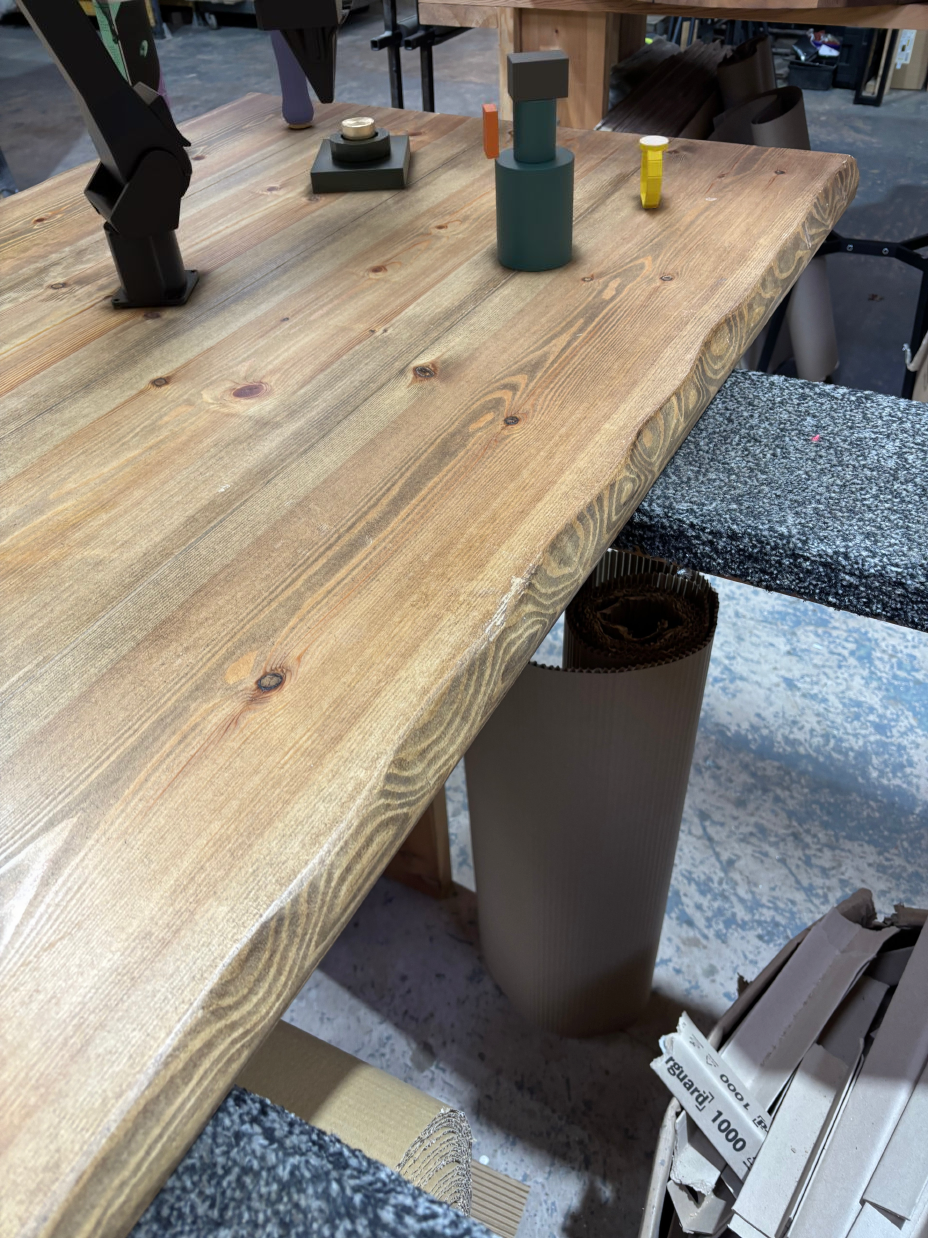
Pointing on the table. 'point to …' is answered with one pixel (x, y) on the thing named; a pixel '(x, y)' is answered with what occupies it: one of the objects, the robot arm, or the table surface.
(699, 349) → the table surface
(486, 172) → the table surface
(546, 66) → the spray bottle
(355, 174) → the switch block
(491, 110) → the block
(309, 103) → the purple vase
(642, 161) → the watch
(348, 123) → the button
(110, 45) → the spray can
